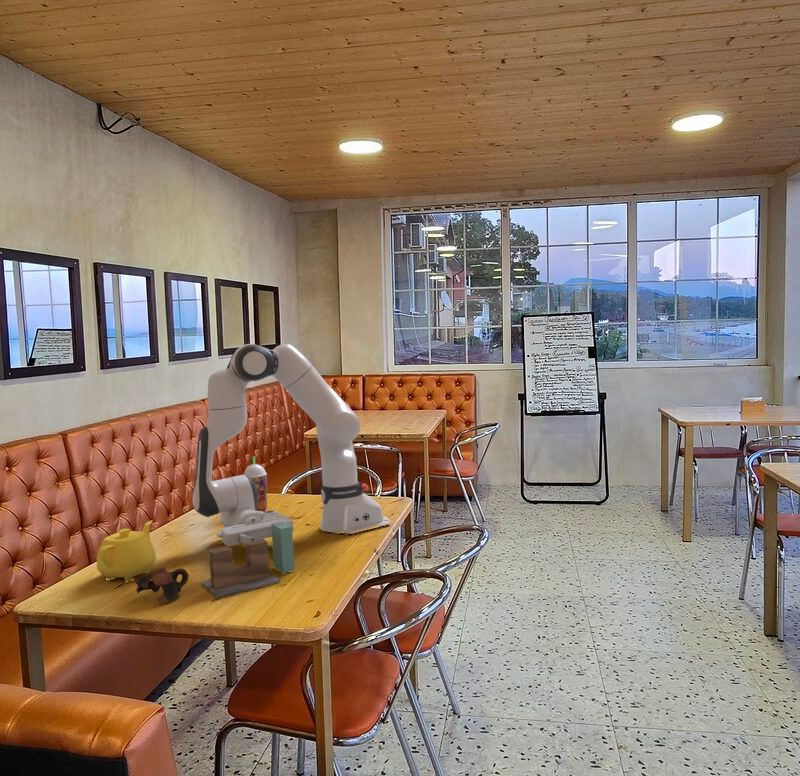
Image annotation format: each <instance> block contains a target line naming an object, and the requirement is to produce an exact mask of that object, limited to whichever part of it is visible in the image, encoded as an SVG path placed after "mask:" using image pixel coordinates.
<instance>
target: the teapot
mask: <svg viewBox="0 0 800 776" xmlns="http://www.w3.org/2000/svg"><path fill="white" fill-rule="evenodd" d="M152 523H153V520H149V521H147V522H146V523H145V524H144V525H143V528H142V531H135V530H133V531H132V530H131V528H121V529H119V530H118V531H117V532H116V533H114V534H110V535H109V536H106V537H104V538H103V540H102V542H101V544H100V547H99V549H98V553H97V557H96V569H97V571H98V572H99V573H100V574H101V575H102V576H105V579H106V578H107V579H111V578H114V577H116V578H123V579H124V580H125V581H131V580H133V579H135V576H138V575H141V573H145V572H148V571H149V570H150V569H151V568H153V566H155V565H154V564H155V563H156V559H157V555H156V550H155V547H154V545H153V543H152V541H151V535H150V527H151V525H152ZM145 574H146V573H145ZM131 582H132V581H131Z"/></svg>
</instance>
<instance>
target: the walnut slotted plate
mask: <svg viewBox="0 0 800 776" xmlns="http://www.w3.org/2000/svg"><path fill="white" fill-rule="evenodd" d="M244 544H245V558H246V563H243V564H239V565H235V566H234V562H233V559H234V558H233V549H232V548H230V546H224V547H220V548H219V547H218V548H214V549H211V550H208V553H209V554H208V555H209V556H208V557H209V572H210V579H209V580H204V581H202V582H201V585H202V586H203V587H204V586H205V587H206V588H207V589H208V590H207V589H206V588H205V587H204V588H205V589H206V590H207V591H208V592H209V593H210V594H212V596H213V597H215V598H216V597H217V598H220V599H223V598H222V597H224V598H226V596H227V597H230V596H229V595H231V596H234V595H233V594H235V595H238V594H237V593H239V594H241V592H243V593H246V592H249V590H250V591H253V589H254V590H257V589H256V588H258V589H260V588H259V587H261V588H264V587H263V586H265V587H267V586H266V585H269V586H272V585H271V584H273V585H275V584H274V583H276V584H279V583H278V582H280V583H281V579H279V577H276V576H275V574H273V573H271V572H270V562H269V561H270V560H269V547H268V544H269V543H268V541H267V540H266V539H259V540H255V541H250V542H246V543H244ZM245 591H246V592H245ZM217 598H216V599H217Z"/></svg>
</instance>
